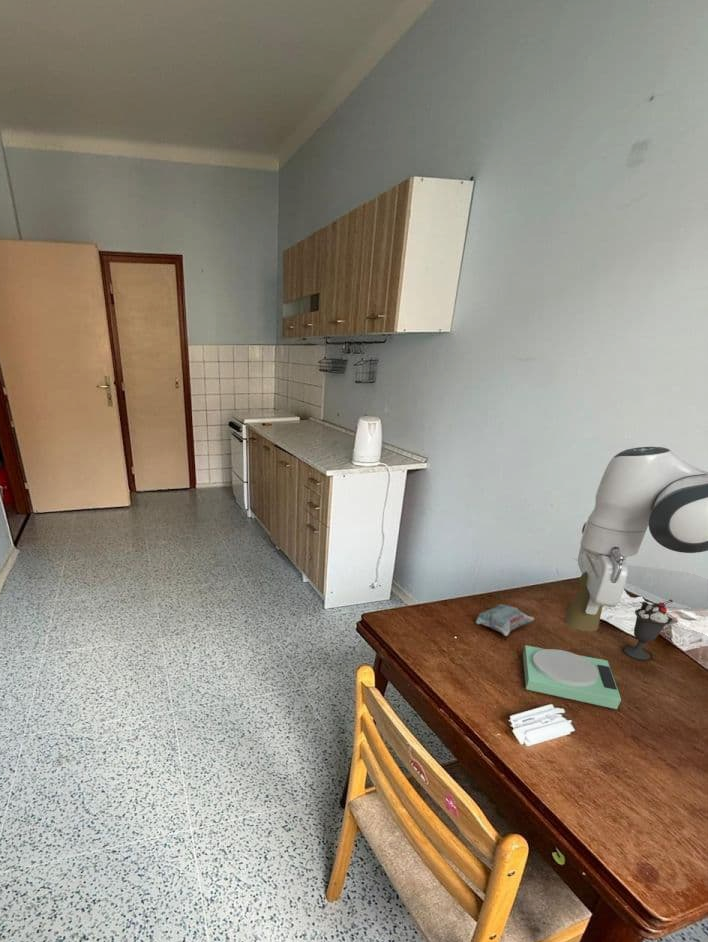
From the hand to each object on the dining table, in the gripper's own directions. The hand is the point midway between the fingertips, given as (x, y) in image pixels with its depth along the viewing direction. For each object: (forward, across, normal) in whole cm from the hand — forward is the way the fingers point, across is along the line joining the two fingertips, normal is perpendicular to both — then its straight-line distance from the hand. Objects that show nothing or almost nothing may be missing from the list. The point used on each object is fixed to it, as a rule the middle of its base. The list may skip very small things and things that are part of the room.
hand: (587, 605), depth 92 cm
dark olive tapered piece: (+4, 0, 0) cm, 4 cm away
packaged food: (+18, +18, +11) cm, 28 cm away
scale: (+18, 0, -1) cm, 18 cm away
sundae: (+18, +17, -17) cm, 30 cm away
